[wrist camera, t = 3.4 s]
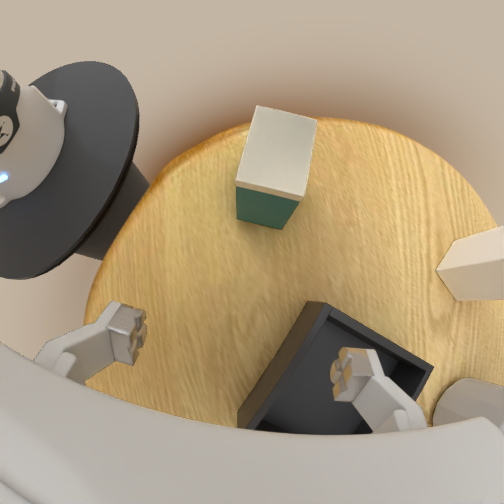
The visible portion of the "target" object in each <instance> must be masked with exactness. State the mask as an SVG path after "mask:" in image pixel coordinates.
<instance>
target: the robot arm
mask: <svg viewBox="0 0 504 504" xmlns="http://www.w3.org/2000/svg"><path fill="white" fill-rule="evenodd" d="M67 107H68V105H67V103H65V102H64V101H61V100H50V99H47V98H46V97H45V96H44V95H43V94H42V93H41V92H40V91H39V90H38V89H37V88H36V87H35V86H33V85H32V86H23V87H20V86H19V85H18V83H17V82H16V81H15V79H14V78H13V77H12V76H11V75H9V74H8V73H7V72H6V71H3V70H2V71H1V70H0V208H2V207H4V206H5V205H6V204H7V203H9V202H10V201H11V200H14V199H18V198H21V197H24V196H26V195H27V194H29V193H30V192H32V191H33V190H34V189H35V188H37V187H38V186H39V185H40V183H41V182H42V181H43V180H44V179H45V178H46V176H47V175H48V174H49V172H50V171H51V169H52V167H53V166H54V164H55V162H56V160H57V158H58V156H59V154H60V151H61V148H62V145H63V141H64V135H65V127H64V117H65V114H66V111H67ZM145 319H146V311H145V310H143V309H140V308H137V307H133V306H130V305H127V304H122V303H119V302H116V301H111V302H109V304H108V305H107V307H106V308H105V309H104V311H103V312H102V313H101V315H100V316H99V318H98V319H97V320H96V322H95V323H94V324H92V323H90V324H88V325H85V326H83V327H81V328H78V329H76V330H74V331H71V332H69V333H66V334H64V335H62V336H59V337H57V338H54V339H52V340H50V341H48V342H46V344H45V345H44V346H43V348H42V349H41V350H40V352H39V353H38V354H37V356H36V357H35V358H34V360H33V361H32V360H30V359H28V358H27V357H25V356H23V355H21V354H20V353H18V352H16V351H14V350H13V349H11V348H9V347H8V346H6V345H5V344H3V343H1V342H0V504H504V435H503V433H502V432H501V431H500V430H499V428H498V427H496V426H495V425H494V424H493V423H492V422H491V421H489V420H488V419H487V418H485V417H482V416H480V417H475V418H471V419H467V420H463V421H459V422H454V423H450V424H445V425H439V426H434V427H428V425H427V422H426V419H425V417H424V414H423V411H422V408H421V407H420V406H419V405H418V404H417V403H416V402H415V401H414V400H413V399H412V398H411V397H409V396H408V395H407V394H406V393H405V392H404V391H403V390H402V389H401V388H400V387H398V386H397V385H396V384H395V383H394V382H393V381H392V380H391V379H390V378H389V377H385V375H384V372H383V369H382V367H381V364H380V361H379V358H378V356H377V353H376V351H375V350H374V349H359V348H349V347H343V348H341V349H340V351H339V353H338V354H339V358H337V359H336V360H334V362H333V364H332V366H331V370H330V379H331V381H332V383H333V384H334V387H333V388H332V390H333V396H334V401H343V402H352V404H353V405H354V407H355V408H356V409H357V411H358V412H359V413H360V414H361V416H362V417H363V418H364V420H365V421H366V422H367V424H368V425H369V426H370V428H371V429H372V430H373V432H372V433H371V434H358V435H308V434H289V433H276V432H266V431H257V430H249V429H242V428H235V427H229V426H223V425H217V424H212V423H207V422H202V421H197V420H192V419H188V418H184V417H179V416H175V415H171V414H168V413H164V412H160V411H157V410H153V409H150V408H146V407H143V406H140V405H136V404H133V403H130V402H127V401H124V400H121V399H118V398H116V397H113V396H110V395H107V394H105V393H102V392H99V391H97V390H94V389H92V388H89V387H87V386H86V383H85V381H86V380H88V379H89V378H91V377H92V376H94V375H95V374H97V373H98V372H100V371H101V370H103V369H104V368H106V367H107V366H109V365H110V364H112V363H113V362H115V361H118V362H122V363H125V364H128V365H132V366H134V364H135V362H136V360H137V357H138V355H139V351H138V349H139V348H141V347H143V345H144V342H145V339H146V335H147V325H146V324H145V323H144V321H145Z"/></svg>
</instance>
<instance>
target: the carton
mask: <svg viewBox="0 0 504 504" xmlns="http://www.w3.org/2000/svg"><path fill="white" fill-rule="evenodd" d="M316 127H317V120H315V119H312V118H308V117H304V116H300V115H296V114H293V113H289V112H284V111H280V110H276V109H272V108H267V107H262V106H256V109H255V112H254V116H253V119H252V122H251V126H250V129H249V133H248V136H247V139H246V143H245V146H244V150H243V153H242V157H241V160H240V164H239V167H238V171H237V174H236V178H235V186H236V211H237V219H238V220H242V221H247V222H251V223H255V224H259V225H264V226H268V227H272V228H276V229H280V230H282V228H283V227H284V225H285V224H286V222H287V221H288V219H289V218H290V216H291V215H292V213H293V212H294V210H295V209H296V207H297V206H298V204H299V203H300V202H301V201H302V200H303V198H304V197H305V192H306V186H307V181H308V175H309V169H310V163H311V158H312V152H313V146H314V139H315V133H316Z"/></svg>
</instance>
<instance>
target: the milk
mask: <svg viewBox="0 0 504 504" xmlns="http://www.w3.org/2000/svg"><path fill="white" fill-rule="evenodd" d="M436 272H437V273H438V275H439V276H440V278H441V279H442V281H443V282H444V283H445V285H446V286H447V288H448V289H449V291H450V292H451V294H452V295H453V297H454V298H455V300H456V301H482V300H504V225H503V226H501V227H497V228H494V229H491V230H488V231H484V232H481V233H478V234H475V235H471V236H468V237H465V238H461V239H458V240H455V241H454V242H453V243H452V245H451V247H450V248H449V250H448V252H447V253H446V255H445V256H444V258H443V260H442V261H441V263H440V264H439V266H438V267H437V269H436Z"/></svg>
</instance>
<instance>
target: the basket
mask: <svg viewBox="0 0 504 504" xmlns="http://www.w3.org/2000/svg"><path fill="white" fill-rule="evenodd" d="M343 347H349V348H359V349H374V350H375V351H376V353H377V356H378V358H379V361H380V364H381V367H382V369H383V372H384V375H385V377H389V378H390V379H391V380H392V381H393V382H394V383H395V384H396V385H397V386H398V387H400V388H401V389H402V390H403V391H404V392H405V393H406V394H407V395H408V396H409V397H411V398H412V399H413V400H414V401H416V400H417V398H418V396H419V395H420V393H421V391H422V389H423V387H424V386H425V384H426V382H427V380H428V378H429V376H430V374H431V372H432V370H433V368H434V366H432V365H430V364H429V363H427V362H425V361H424V360H422V359H420V358H419V357H417V356H415V355H413V354H412V353H410V352H408V351H407V350H405V349H403V348H402V347H400V346H398V345H396V344H395V343H393V342H391V341H390V340H388V339H386V338H385V337H383V336H381V335H380V334H378V333H376V332H375V331H373V330H371V329H369V328H368V327H366V326H364V325H363V324H361V323H359V322H358V321H356V320H354V319H353V318H351V317H349V316H348V315H346V314H344V313H343V312H341V311H339V310H338V309H336V308H334V307H332V306H331V305H329V304H327V303H323V302H312V301H307V303H306V304H305V306H304V308H303V310H302V311H301V313H300V315H299V316H298V318H297V320H296V322H295V323H294V325H293V327H292V328H291V330H290V332H289V333H288V335H287V337H286V338H285V340H284V341H283V343H282V345H281V346H280V348H279V350H278V351H277V353H276V354H275V356H274V358H273V359H272V361H271V362H270V364H269V365H268V367H267V369H266V370H265V372H264V373H263V375H262V376H261V378H260V379H259V381H258V382H257V384H256V385H255V387H254V388H253V390H252V391H251V393H250V394H249V396H248V397H247V399H246V400H245V402H244V403H243V405H242V406H241V407H240V409H239V410H238V412H237V428H242V429H249V430H257V431H266V432H276V433H289V434H308V435H358V434H371V433H372V432H373V430H372V429H371V428H370V426H369V425H368V424H367V422H366V421H365V420H364V418H363V417H362V416H361V414H360V413H359V412H358V411H357V409H356V408H355V407H354V405H353V404H352V402H343V401H334V396H333V390H332V388H333V387H334V384H333V383H332V381H331V379H330V370H331V366H332V364H333V362H334V360H336V359H337V358H339V354H338V353H339V351H340V349H341V348H343Z"/></svg>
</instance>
